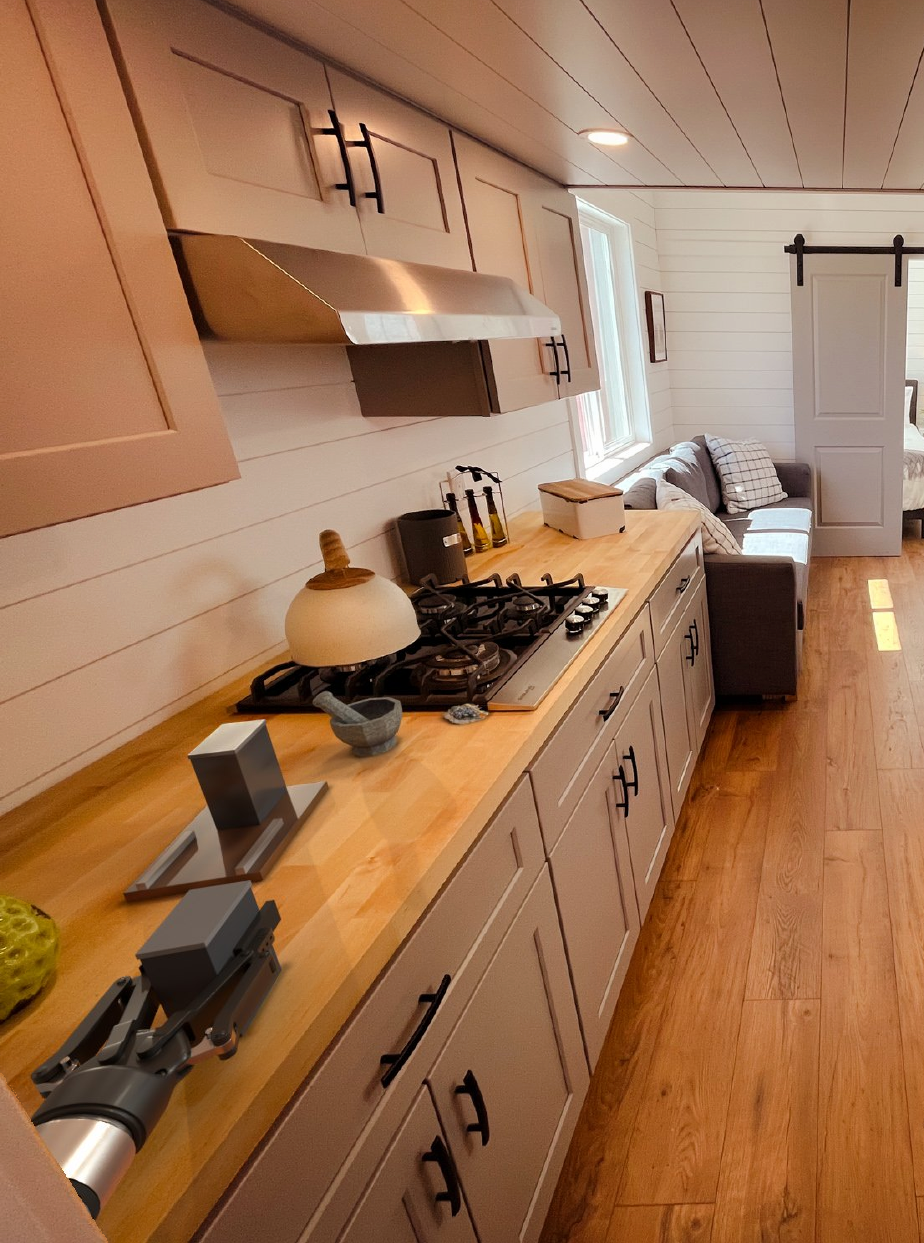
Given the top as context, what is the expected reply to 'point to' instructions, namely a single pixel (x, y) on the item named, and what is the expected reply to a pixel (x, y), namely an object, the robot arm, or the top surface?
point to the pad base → (231, 847)
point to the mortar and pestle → (363, 722)
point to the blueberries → (464, 714)
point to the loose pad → (198, 944)
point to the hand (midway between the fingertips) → (241, 915)
